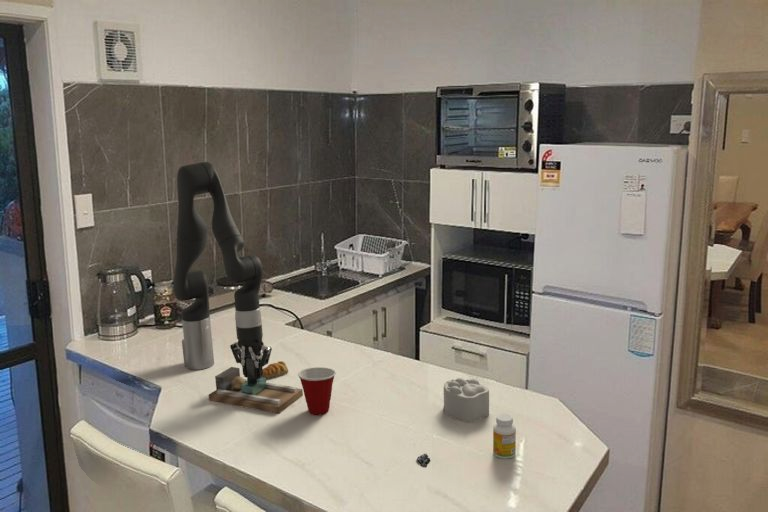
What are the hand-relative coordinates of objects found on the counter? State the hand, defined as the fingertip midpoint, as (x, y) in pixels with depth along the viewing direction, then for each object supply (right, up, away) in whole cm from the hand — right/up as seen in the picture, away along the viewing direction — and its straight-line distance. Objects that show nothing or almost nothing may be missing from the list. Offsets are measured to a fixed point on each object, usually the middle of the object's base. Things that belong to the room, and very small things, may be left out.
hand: (253, 377), depth 191 cm
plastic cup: (+21, -8, -9) cm, 24 cm away
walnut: (-5, -2, +3) cm, 6 cm away
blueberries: (+50, -14, -37) cm, 64 cm away
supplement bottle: (+69, -12, -35) cm, 78 cm away
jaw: (0, -4, +1) cm, 4 cm away
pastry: (+3, -3, +19) cm, 20 cm away
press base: (+1, -7, +1) cm, 7 cm away
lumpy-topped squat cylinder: (+62, -8, -12) cm, 64 cm away
